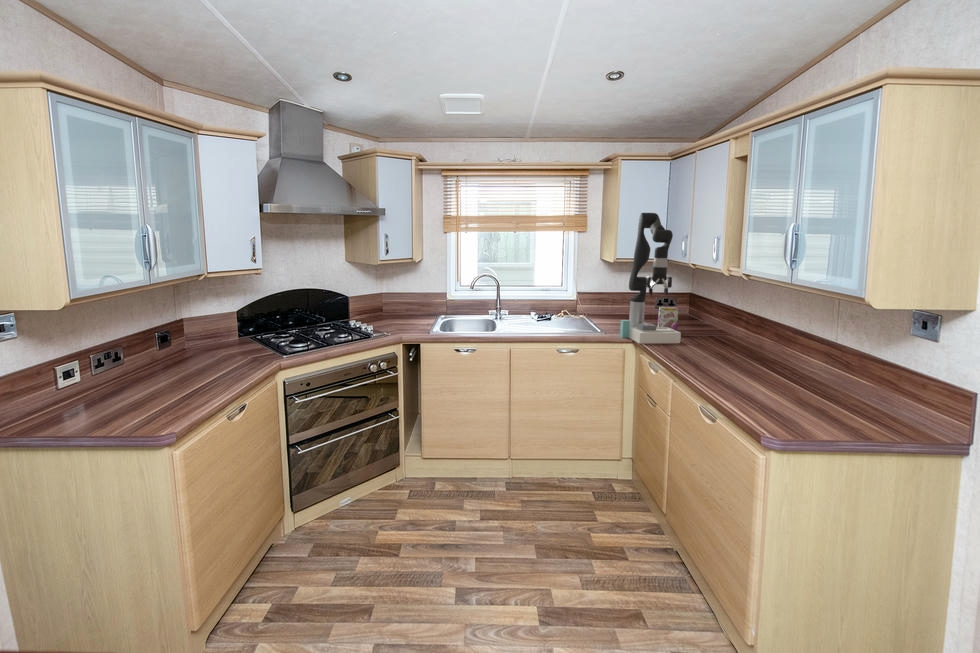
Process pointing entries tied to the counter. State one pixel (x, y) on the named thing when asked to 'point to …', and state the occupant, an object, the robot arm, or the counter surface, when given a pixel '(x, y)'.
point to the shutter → (646, 326)
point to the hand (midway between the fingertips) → (658, 295)
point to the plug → (624, 328)
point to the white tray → (655, 335)
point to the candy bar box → (668, 317)
